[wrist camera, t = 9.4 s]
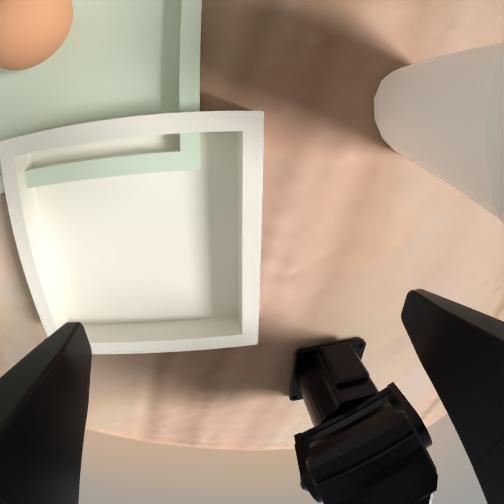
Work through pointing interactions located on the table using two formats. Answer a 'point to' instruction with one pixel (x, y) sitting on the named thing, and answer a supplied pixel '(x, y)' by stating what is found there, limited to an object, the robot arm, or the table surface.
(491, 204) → the foam cup
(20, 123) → the tray
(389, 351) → the table surface
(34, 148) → the white square open box
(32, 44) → the ball
